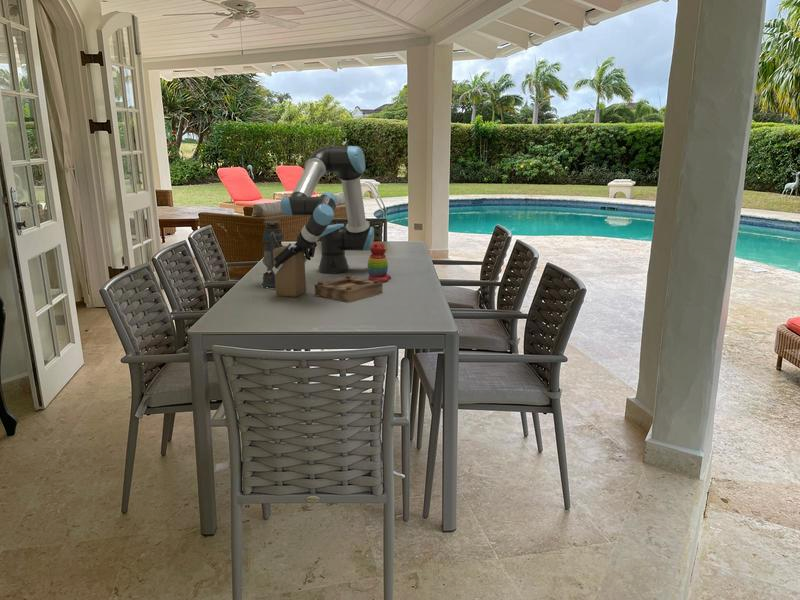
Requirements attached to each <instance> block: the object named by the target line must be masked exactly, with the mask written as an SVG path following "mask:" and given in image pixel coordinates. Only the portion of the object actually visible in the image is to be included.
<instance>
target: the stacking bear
mask: <svg viewBox="0 0 800 600" xmlns="http://www.w3.org/2000/svg"><path fill="white" fill-rule="evenodd" d="M369 251H370V252H371V254H370V256H369V258H368V261H367V271H368V275H369V276H368V279H367V280H370V281H374V280H379V282H382V283H388V282H389V280H391V279H392V276H391V275H390V274H388V270H389V269H388V267H389V265H388V261H387V260H388V259H387V256H386V255H385V253H386V252H387V247H386V246H385V245H384V244H383V243H382V242H380V241H376V242H373V244H372V245H371V247H370V250H369Z"/></svg>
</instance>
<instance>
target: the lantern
mask: <svg viewBox="0 0 800 600" xmlns="http://www.w3.org/2000/svg"><path fill="white" fill-rule="evenodd" d="M262 223H263V224H266V225H265V227H263V234H262V240H261V242H264V244H265V245H264V246H263V249H262V252H263V258H262V264H264V265H265V267H266V268H267V269H266V271H265V272H264V273H263V274H262V283H261V287H262V286H263V287H268V288H275V275H274V272H273V270H272V268H273V267H274V259H273V250H274V249H276V248H279V247H282V246H284V245H283V244H282V242H283V241H285V239H284V237H283V236H284V235H283V232H282V227H280V225H279V223H282V221H281V220H277V219H270V218H269V219H267V220H264V221H263V222H262ZM263 287H262V288H263ZM268 288H267V289H268Z"/></svg>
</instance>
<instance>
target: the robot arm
mask: <svg viewBox="0 0 800 600" xmlns="http://www.w3.org/2000/svg"><path fill="white" fill-rule="evenodd" d="M365 171H366V158H365V154H364V151H363V149H362V148H361V147H360V146H357V145H355V146H354V145H345V146H344V145H343V146H340V145H338V146H337V145H335V146H332V145H331V146H323V147H321V148H319V149H317V150H316V151H314V152H313V153H312V154H311V155H310V156H309V157H308V158H307V160H306V162H305V164H304V170H303V172H302V174H301V175H300V178H299V180H298V182H297V183H296V185H295V188H294V189H293V191H292V193H291V194H290V196H288V195H287V196H284V197H282V198H281V200H280V210H281V213H282V215H284V216H292V217H296V216H297V217H298V216H301V217H302V216H304V217H305V216H306V217H307V216H310V217H309V218H308V220H307V222H306V223H305V224H304V225H303V227H302V229H300V230H301V231H299V233H298V235H297V236H296V242H295V243H294V244H292V243H288V245H286V246H287V247H286V248H285V249H284V250H283V251H282V252H281V253H280V254H279V255H278V256H276V257H275V258H274V260H275V262H276V263H275V265H274V267H273V268H272V270H273V272H274V273H275V274H277V273H278V271H279V270H280V268H281V267H282V265H283V263H284V262H285V261H286V260H288V259H289V258H291V257H292V256H293V255H297V254H298V253H300V252H304V260H305V263H307V261H310V260H311V259H312V258H314V257H315V253H316V249H317V248H316V247H317V246H318V241H319V239H320V246H321V247H320V251H321V256H320V262H319V265H318V272H319V273H322V274H342V273H346V272H349V271H350V265H349V264H348V261H347V257H346V254H345V253H346V251H355V252H356V251H362V252H364V251H371V250H370V247H371V245H372V244H373V243H374V241H375V228H374V227H373V226H370V222H369V221H368V220H367V219H366V213H365V205H364V199H363V191H362V183H361V177H362V176H363V173H364V172H365ZM326 174H336V175H337V179H338V180H340V181H341V186H342V192H343V199H344V204H345V211H346V217H347V223H346V224H344V223H335V224H331V223H332V222H333V219H334V217H335V210H336V209H337V205H338V198H337V196H336V195H335V194H334V193H332V192H329V191H325V192H322V193H321V195H319V196H312V195H313V194H314V192H315V189H316V187H317V185H318V183H319V181H320V179H321V177H324V175H326ZM294 250H295V251H296V252H294Z"/></svg>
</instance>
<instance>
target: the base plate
mask: <svg viewBox="0 0 800 600" xmlns="http://www.w3.org/2000/svg"><path fill="white" fill-rule="evenodd" d="M379 293H381V294H383V282H379V280H374V281H370V280H368V279H363V278H357V277H352V276H351V275H348V274H347V275H345V277H342V278H337V279H333V280H330V281H329V280H328V281H325V282H324V281H318V282H317V283H316V284H314V296H316V295H319V296H318V297H321V296H324V297H323V298H326V297H329V298H328V299H331V298H334V299H333V300H336V299H339V300H338V301H341V300H344V301H343V302H346V301H348V302H347V303H351V302H350V301H352V302H354V300H355V301H358V300H357V299H359V300H362V299H361V298H363V299H365V298H364V297H366V298H369V297H368V296H370V297H373V296H376V294H377V295H380V294H379ZM372 295H373V296H372Z"/></svg>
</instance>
